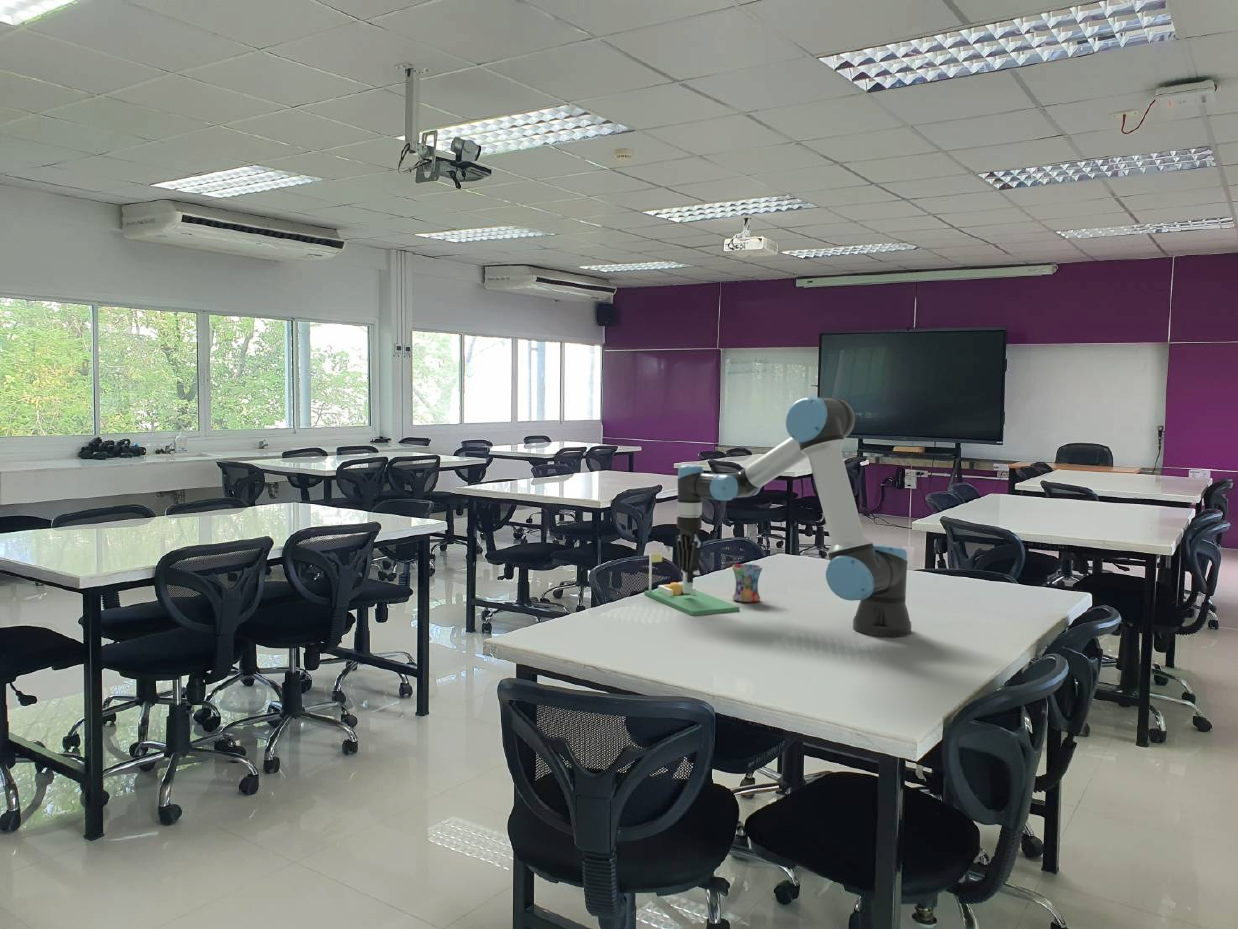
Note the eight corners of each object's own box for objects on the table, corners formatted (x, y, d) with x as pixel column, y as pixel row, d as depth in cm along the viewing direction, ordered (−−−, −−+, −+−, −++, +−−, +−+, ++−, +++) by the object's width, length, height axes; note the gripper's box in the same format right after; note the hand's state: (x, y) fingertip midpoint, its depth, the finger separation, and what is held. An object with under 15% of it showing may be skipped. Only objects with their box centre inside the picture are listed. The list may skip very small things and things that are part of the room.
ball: (680, 578, 273) (675, 588, 275) (668, 579, 271) (663, 589, 273) (685, 590, 270) (680, 599, 272) (673, 591, 268) (668, 600, 270)
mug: (754, 605, 261) (755, 570, 261) (726, 601, 266) (727, 567, 266) (769, 598, 272) (770, 564, 271) (742, 594, 276) (743, 561, 276)
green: (739, 611, 253) (740, 566, 253) (691, 615, 247) (693, 569, 246) (688, 591, 280) (689, 550, 280) (644, 594, 274) (645, 553, 273)
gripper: (711, 518, 259) (709, 596, 260) (689, 513, 271) (687, 587, 272) (689, 519, 256) (687, 597, 257) (668, 513, 268) (666, 589, 269)
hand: (687, 592), depth 265 cm, fingers closed
